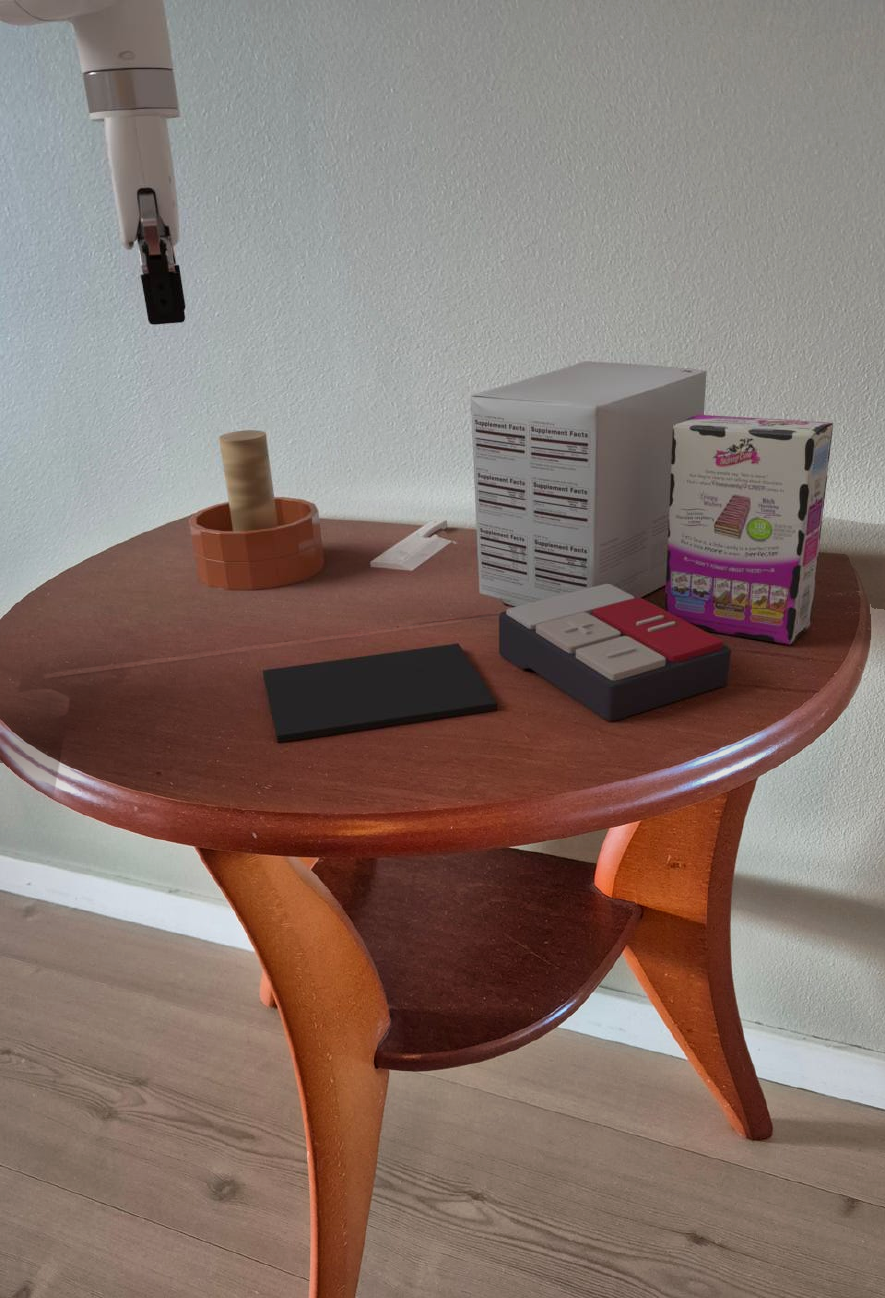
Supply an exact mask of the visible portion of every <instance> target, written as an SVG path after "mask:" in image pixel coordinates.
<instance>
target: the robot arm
mask: <svg viewBox="0 0 885 1298" xmlns="http://www.w3.org/2000/svg"><path fill="white" fill-rule="evenodd" d="M164 2H165V1H164V0H0V22H3V23H5V24H8V25H12V26H21V27H27V26H35V25H41V24H49V23H59V22H67V23H70V24H71V25H73V31H74V37H75V42H76V47H77V53H78V58H79V65H80V69H81V74H82V80H83V81H82V82H83V87H84V91H85V97H86V103H87V108H88V113H89V119H90V122H97V123H103V126H104V127H103V128H104V137H105V138H104V139H105V147H106V153H107V161H108V167H109V171H110V172H109V173H110V180H111V184H112V190H113V197H114V202H115V209H116V215H117V220H118V227H119V234H120V241H121V245H122V247H123V248H124V249H126V250H127V251H131V250H132V249H133V248H134V247H135V242H136V241H137V244H138V251H139V252H138V253H139V257H140V258H139V259H140V267H141V272H142V274H140V280H141V286H142V287H141V288H142V292H143V299H144V303H145V310H146V315H147V319H148V320H147V321H148V323H149V324H150V325H152V326H154V325H155V326H156V325H166V324H179V323H180V324H181V323H184V322H185V321H186V313H185V310H186V301H185V295H184V289H183V282H182V281H183V280H182V274H181V271H180V270H181V268H180V264H177V260H176V259H177V258H176V252H175V246H176V245H177V244H178V243H179V242H180V219H179V204H178V193H177V186H176V175H175V169H174V168H175V167H174V161H173V155H172V148H171V140H170V134H169V127H168V120H169V119H176V118H181V110H180V105H179V98H178V92H177V85H176V77H175V72H174V62H173V56H172V50H171V44H170V37H169V35H170V34H169V30H168V23H167V22H168V21H167V17H166V16H167V15H166V10H165V3H164ZM167 119H168V120H167Z"/></svg>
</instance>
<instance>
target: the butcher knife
mask: <svg viewBox="0 0 885 1298" xmlns="http://www.w3.org/2000/svg"><path fill="white" fill-rule="evenodd" d="M447 528H448V520H447V519H441V518H440V519H439V518H433V519H432V520H430V521H429V522H427V523H426V524H424V525H423V526H421V527H420V528H418V529H417V530H415V531H414V532H412V533H411V534H409V535H408V536H406V537H405V538H403V539H402V540H400V541H398V542H397V543H395V544H394V545H392V546H391V547H389V548H388V549H386V550H385V551H384V552H382V553H381V554H380V555H378V556H377V557H375V558H373V560H371V561H370V562H369V565H370V567H371V568H380V569H388V570H389V569H390V570H400V571H402V570H403V571H411V572H412V571H413V570H415V569H416V568H418V567H419V566H420V565H422V564H423V563H425V562H426V561H428V559H430V558H432V557H433V556H434V555H436V554H437V553H438V552H440V551H441V550H442V549H444V548H445V547H446V546H448V545H449V544H451V543H453V544H454V545H457V544H458V542H457V541H454V540H451V539H447V538H444V537H439V535H438V534H434V533H435V532H437V531H438V530H439V531H440V529H441V530H442V531H444V530H445V529H447ZM432 534H433V535H432ZM431 535H432V536H431Z"/></svg>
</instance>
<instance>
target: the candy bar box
mask: <svg viewBox="0 0 885 1298" xmlns="http://www.w3.org/2000/svg"><path fill="white" fill-rule="evenodd" d="M833 427H834V422H826V421H810V420H809V421H808V420H798V419H785V418H784V419H781V418H763V417H747V416H746V417H744V416H727V415H712V414H711V415H709V414H704V415H696V416H693V417H691V418H688V419H686V420H685V421H683V422H680V423H678V424H676V425H674V426H673V432H672V453H671V456H672V458H671V482H670V504H669V523H668V548H667V569H666V585H665V589H664V590H665V593H664V609H663V610H665V611H667V612H669V613H671V614H673V615H675V616H677V617H679V618H680V619H682V620H684V621H686V622H688V623H690V624H692V625H694V626H696V627H698V628H700V629H702V630H704V631H705V632H711V633H717V634H723V635H728V636H729V635H730V636H734V637H735V636H736V637H739V638H740V637H741V638H747V639H752V640H753V639H754V640H758V641H764V642H770V643H776V644H782V645H788V646H789V645H792V644H794V642H796V640H798V638H799V637H800V636H802V635H803V634H804V633H805V632H806V631H807V630H808V629H809V628H810V627H811V622H812V617H813V609H814V607H813V606H814V597H815V589H816V588H815V587H816V580H817V572H818V571H817V570H818V561H819V552H820V551H819V550H820V544H821V543H820V542H821V536H822V535H821V534H822V525H823V516H824V507H825V498H826V492H827V491H826V490H827V482H828V472H829V465H830V463H829V462H830V456H831V455H830V454H831V446H832V438H833V429H834V428H833Z"/></svg>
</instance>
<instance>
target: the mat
mask: <svg viewBox="0 0 885 1298" xmlns="http://www.w3.org/2000/svg"><path fill="white" fill-rule="evenodd" d="M262 675H263V681H264V685H265V690H266V694H267V700H268V704H269V708H270V714H271V717H272V722H273V728H274V732H275V736H276V742H277V744H279V743H280V744H281V743H286V742H287V743H288V742H293V741H301V740H306V739H312V738H313V739H314V738H320V737H327V736H333V735H341V734H347V733H353V732H358V731H359V732H360V731H366V730H367V731H368V730H373V729H380V728H386V727H387V728H388V727H394V726H400V725H406V724H413V723H419V722H426V721H433V720H440V719H447V718H454V717H460V716H467V715H474V714H480V713H486V712H492V711H493V712H495V711H498V708H499V707H498V702H497V700H496V698H495V696H493V694H492V693H491V691H490V690H489V688H488V686H487V685H486V684H485V682H484V680H483V679H482V677H481V676H480V674H479V672H478V671H477V670H476V668H475V667H474V665H473V663H472V662H471V660H470V659H469V657H468V656H467V654H466V653H465V651H464V649H463V648H462V647H461V645H460V643H450V644H444V645H436V646H429V647H421V648H415V649H414V648H413V649H408V650H407V649H406V650H399V651H392V652H386V653H378V654H372V655H371V654H370V655H364V656H357V657H349V658H343V659H334V660H327V661H321V662H312V663H306V664H299V665H292V666H285V667H283V666H282V667H275V668H270V669H263V670H262Z"/></svg>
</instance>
